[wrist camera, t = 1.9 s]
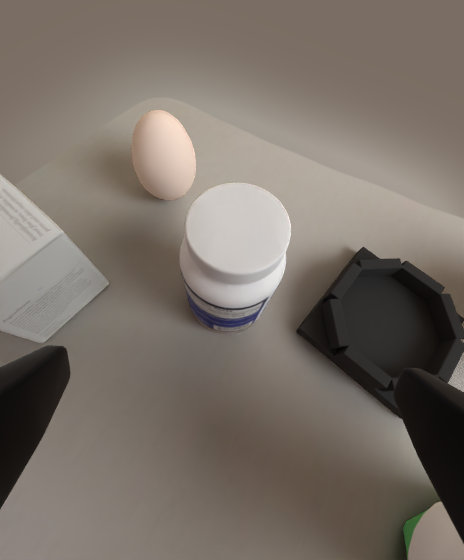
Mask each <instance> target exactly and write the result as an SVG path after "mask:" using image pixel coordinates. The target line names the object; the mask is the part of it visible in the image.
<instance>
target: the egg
mask: <svg viewBox="0 0 464 560" xmlns="http://www.w3.org/2000/svg"><path fill="white" fill-rule="evenodd" d="M131 154H132V162H133V166H134V170H135V172H136V174H137V176H138V179H139V181H140V182H141V184H142V185H143V187H144V188H145V189H146V190H147V191H148V192H149V193H151V194H152V195H154V196H155V197H157V198H159V199H162V200H169V201H170V200H176V199H178V198H180V197H182V196H183V195H184V194H186V193H187V191H188V190H189V188H190V187H191V186H192V183H193V181H194V178H195V172H196V159H195V152H194V148H193V145H192V142H191V140H190V138H189V136H188V134H187V132H186V131H185V129H184V127H183V126H182V125H181V123H180V122H179V121H178V120H177V119H176V118H175V117H174V116H172V115H171V114H169V113H167V112H165V111H162V110H153V111H149V112H148V113H146V114H145V115H143V116H142V117H141V118H140V120H139V121H138V123H137V125H136V127H135V129H134V133H133V138H132V145H131Z"/></svg>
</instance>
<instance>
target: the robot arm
mask: <svg viewBox="0 0 464 560" xmlns="http://www.w3.org/2000/svg"><path fill="white" fill-rule="evenodd" d="M69 379H70V366H69V360H68V354H67V350H66V348H65V347H63V346H51V345H50V346H45V347H43V348H41V349H39V350H37V351H34V352H32V353H30V354H28V355H26V356H24V357H22V358H19V359H17V360H15V361H13V362H11V363H9V364H7V365H4V366H2V367H0V509H1V507H2V505H3V504H4V502H5V500H6V499H7V497H8V495H9V494H10V492H11V490H12V488H13V487H14V485H15V483H16V482H17V480H18V478H19V477H20V475H21V473H22V472H23V470H24V468H25V466H26V465H27V463H28V461H29V460H30V458H31V456H32V455H33V453H34V451H35V450H36V448H37V446H38V444H39V442H40V441H41V439H42V437H43V435H44V433H45V431H46V429H47V427H48V425H49V422H50V420H51V418H52V416H53V414H54V412H55V410H56V407H57V405H58V403H59V401H60V399H61V397H62V395H63V392H64V390H65V388H66V386H67V384H68V382H69ZM393 395H394V400H395V402H396V405H397V407H398V410H399V412H400V415H401V417H402V419H403V422H404V424H405V427H406V429H407V431H408V434H409V436H410V439H411V441H412V443H413V446H414V448H415V450H416V453H417V455H418V457H419V459H420V461H421V463H422V465H423V467H424V469H425V471H426V473H427V475H428V477H429V479H430V481H431V483H432V484H433V486H434V488H435V490H436V492H437V494H438V496H439V498H440V500H441V502H442V504H443V506H444V508H445V509H446V511H447V513H448V515H449V517H450V519H451V521H452V523H453V525H454V527H455V529H456V531H457V532H458V534H459V536H460V538H461V540H462V542H463V544H464V392H462V391H460V390H458V389H457V388H455V387H453V386H451V385H449V384H448V383H446V382H444V381H442V380H440V379H439V378H437V377H435V376H433V375H431V374H430V373H428V372H426V371H424V370H422V369H419V368H404V369H403V370H402V371H401V373H400V376H399V378H398V381H397V383H396V386H395V388H394V392H393Z"/></svg>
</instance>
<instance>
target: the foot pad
mask: <svg viewBox="0 0 464 560" xmlns="http://www.w3.org/2000/svg"><path fill="white" fill-rule="evenodd" d="M444 288H445V287H443V286H442V285H441V284H439V283H438V282H436V281H435V280H433V279H432V278H431V277H429V276H428V275H426V274H425V273H424V272H422V271H421V270H419V269H418V268H416V267H415V266H414V265H412V264H411V263H409V262H408V261H405V262H404V263H402V264H401V261H400V259H399V258H398V259H380V258H378V257H377V256H375V255H374V254H373V253H371V252H370V251H368V250H367V249H366V248H364V247H362V248H361V249H360V250H359V251H358V252H357V253H356V255H355V256H354V257H353V258H352V260H351V261H350V262H349V264H348V265H347V266H346V267H345V269H344V270H343V271H342V273H341V274H340V275H339V276H338V278H337V279H336V280H335V282H334V283H333V284H332V285H331V287H330V288H329V289H328V291H327V292H326V293H325V294H324V296H323V297H322V298H321V300H320V301H319V302H318V303H317V305H316V306H315V307H314V309H313V310H312V311H311V312H310V314H309V315H308V316H307V318H306V319H305V320H304V321H303V323H302V324H301V325H300V327H299V328H298V329H297V332H298V333H299V334H300V335H301V336H303V337H304V338H305V339H306V340H307V341H309V342H310V343H311V344H312V345H313V346H315V347H316V348H317V349H318V350H319V351H321V352H322V353H323V354H324V355H325V356H327V357H328V358H329V359H330V360H331V361H333V362H334V363H335V364H336V365H337V366H339V367H340V368H341V369H342V370H344V371H345V372H346V373H347V374H348V375H350V376H351V377H352V378H353V379H354V380H356V381H357V382H358V383H359V384H360V385H362V386H363V387H364V388H365V389H366V390H368V391H369V392H370V393H371V394H372V395H374V396H375V397H376V398H377V399H378V400H380V401H381V402H382V403H383V404H384V405H386V406H387V407H388V408H389V409H391V410H392V411H393V412H394V413H395V414H397V415H398V416H399V417H400V418H401V419H402V417H401V415H400V412H399V410H398V407H397V405H396V402H395V400H394V395H393V392H394V388H395V386H396V383H397V381H398V378H399V376H400V373H401V371H402V370H403V369H404V368H419V369H422V370H424V371H426V372H428V373H430V374H431V375H433V376H435V377H437V378H439V379H440V380H442V381H444V382H446V383H448V382H449V380H450V378H451V376H452V374H453V372H454V370H455V368H456V366H457V364H458V362H459V359H460V357H461V355H462V353H463V351H464V343H463V342H462V341H460V339H464V330H463V327H462V323H463V321H464V318H462V317H461V316H459V315H458V314H457V312H456V309H455V306H454V304H453V301H452V299H451V296H450V294H441V293H442V292H443V290H444Z"/></svg>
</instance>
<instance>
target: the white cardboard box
mask: <svg viewBox="0 0 464 560" xmlns="http://www.w3.org/2000/svg"><path fill="white" fill-rule="evenodd" d="M108 284H109V281H108V280H107V279H106V277H105V276H104V275H103V274H102V273H101V272H100V271H99V270H98V269H97V268H96V266H95V265H94V264H93V263H92V262H91V261H90V260H89V259H88V258H87V257H86V256H85V254H84V253H83V252H82V251H81V250H80V249H79V248H78V247H77V246H76V245H75V244H74V243H73V241H72V240H71V239H70V238H69V237H68V236H67V235H66V234H65V232H64V231H63V230H62V229H61V228H60V227H59V226H58V225H57V224H56V223H55V222H54V221H53V220H52V219H50V218H49V217H48V216H47V215H46V214H45V213H44V212H43V211H42V210H41V209H40V208H38V207H37V206H36V205H35V204H34V203H33V202H32V201H31V200H30V199H29V198H27V197H26V196H25V195H24V194H23V193H22V192H21V191H20V190H18V189H17V188H16V187H15V186H14V185H13V184H11V183H10V182H9V181H8V180H7V179H5V178H4V177H3V176H2V175H1V174H0V331H2V332H5V333H9V334H12V335H15V336H18V337H21V338H25V339H28V340H31V341H34V342H38V343H41V344H42V343H44V342H45V341H47V340H48V339H49V338H50V337H51V336H52V335H53V334H54V333H56V332H57V331H58V330H59V329H60V328H61V327H62V326H63V325H64V324H66V323H67V322H68V321H69V320H70V319H71V318H72V317H73V316H74V315H75V314H77V313H78V312H79V311H80V310H81V309H82V308H83V307H84V306H86V305H87V304H88V303H89V302H90V301H91V300H92V299H93V298H95V297H96V296H97V295H98V294H99V293H100V292H101V291H102V290H103V289H104V288H106V287H107V286H108Z"/></svg>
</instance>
